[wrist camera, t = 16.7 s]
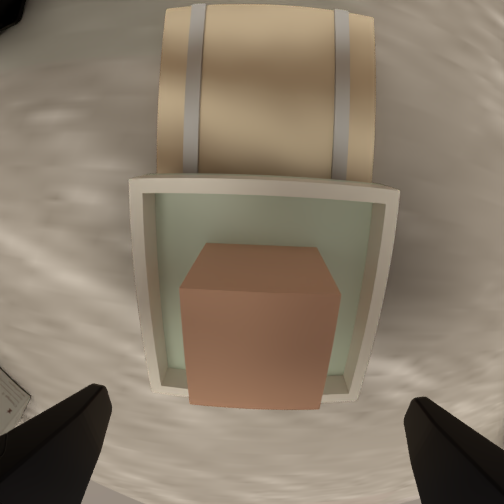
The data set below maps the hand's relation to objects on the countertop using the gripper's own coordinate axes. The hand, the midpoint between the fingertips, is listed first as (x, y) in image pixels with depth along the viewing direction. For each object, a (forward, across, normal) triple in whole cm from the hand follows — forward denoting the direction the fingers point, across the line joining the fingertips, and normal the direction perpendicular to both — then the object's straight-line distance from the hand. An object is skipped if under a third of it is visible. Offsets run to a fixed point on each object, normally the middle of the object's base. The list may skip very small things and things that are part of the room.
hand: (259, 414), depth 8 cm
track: (+12, 0, -5) cm, 13 cm away
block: (+8, 0, 0) cm, 8 cm away
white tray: (+11, 0, 0) cm, 11 cm away
